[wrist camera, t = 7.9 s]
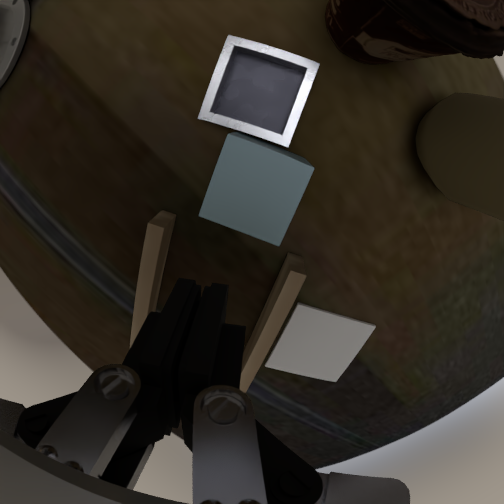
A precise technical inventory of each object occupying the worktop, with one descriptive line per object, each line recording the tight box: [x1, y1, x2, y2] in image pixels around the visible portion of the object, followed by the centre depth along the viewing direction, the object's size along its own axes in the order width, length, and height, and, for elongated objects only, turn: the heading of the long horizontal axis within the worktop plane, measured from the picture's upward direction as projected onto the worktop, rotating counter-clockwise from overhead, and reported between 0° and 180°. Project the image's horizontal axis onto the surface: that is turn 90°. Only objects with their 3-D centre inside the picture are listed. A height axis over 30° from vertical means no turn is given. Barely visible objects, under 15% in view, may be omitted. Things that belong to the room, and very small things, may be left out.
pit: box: [198, 35, 320, 147], centre depth 17 cm, size 6×6×2 cm
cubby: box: [130, 210, 307, 393], centre depth 24 cm, size 11×16×3 cm
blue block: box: [199, 131, 315, 246], centre depth 19 cm, size 5×5×5 cm
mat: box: [265, 302, 376, 382], centre depth 27 cm, size 8×8×1 cm
